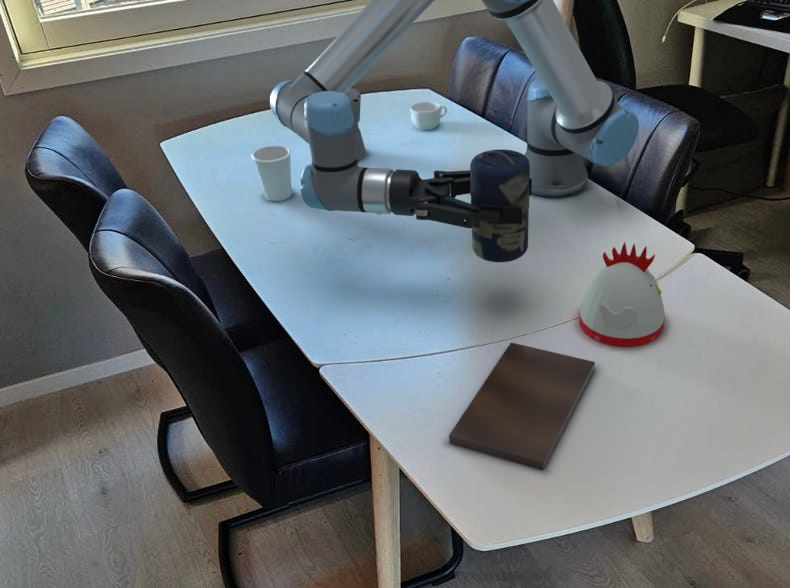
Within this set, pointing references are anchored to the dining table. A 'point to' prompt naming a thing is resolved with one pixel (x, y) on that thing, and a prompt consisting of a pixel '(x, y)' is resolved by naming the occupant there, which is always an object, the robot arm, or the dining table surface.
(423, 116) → the teacup
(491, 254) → the canister
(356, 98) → the coffeepot
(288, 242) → the dining table surface
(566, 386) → the serving board
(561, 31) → the robot arm
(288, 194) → the dixie cup
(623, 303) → the kitchen timer
